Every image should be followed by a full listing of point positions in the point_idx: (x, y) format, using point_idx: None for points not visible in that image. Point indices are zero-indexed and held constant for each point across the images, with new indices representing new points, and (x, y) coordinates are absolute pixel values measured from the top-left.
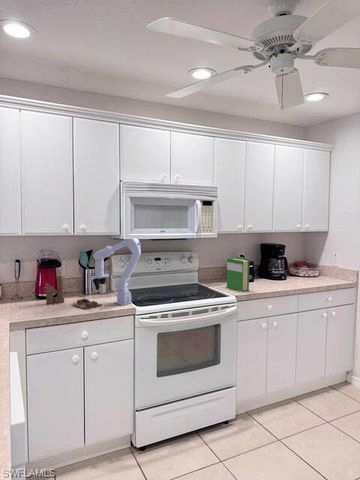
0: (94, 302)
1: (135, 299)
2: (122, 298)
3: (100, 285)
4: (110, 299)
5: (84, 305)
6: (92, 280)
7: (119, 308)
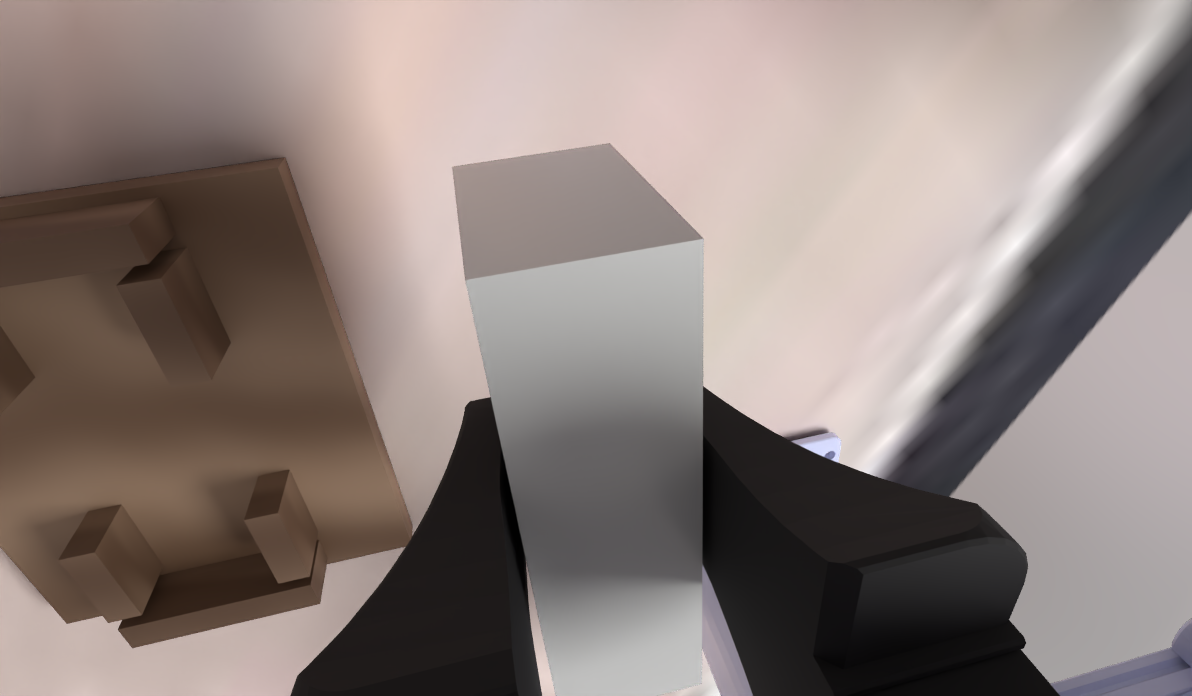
0: (256, 603)
1: (981, 449)
2: (713, 657)
3: (549, 663)
4: (774, 238)
5: (74, 481)
6: (298, 680)
7: (547, 684)
